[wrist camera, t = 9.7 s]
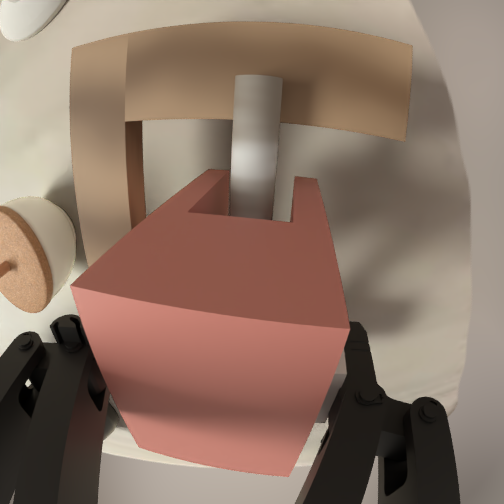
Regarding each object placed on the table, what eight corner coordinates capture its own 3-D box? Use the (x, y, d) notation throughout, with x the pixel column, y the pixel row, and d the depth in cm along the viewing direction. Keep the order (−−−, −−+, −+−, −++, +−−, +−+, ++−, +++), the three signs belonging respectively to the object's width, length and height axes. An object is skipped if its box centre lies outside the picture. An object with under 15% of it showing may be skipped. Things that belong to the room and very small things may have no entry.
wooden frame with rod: (327, 334, 28) (332, 421, 19) (150, 310, 30) (106, 380, 21) (373, 65, 17) (428, 38, 8) (135, 58, 19) (49, 45, 10)
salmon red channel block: (298, 299, 20) (288, 476, 9) (209, 288, 20) (138, 447, 10) (316, 178, 16) (349, 328, 5) (208, 169, 16) (70, 285, 6)
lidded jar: (108, 266, 28) (55, 322, 20) (49, 279, 31) (2, 324, 22) (69, 167, 24) (-4, 200, 16) (14, 199, 26) (-43, 233, 18)
